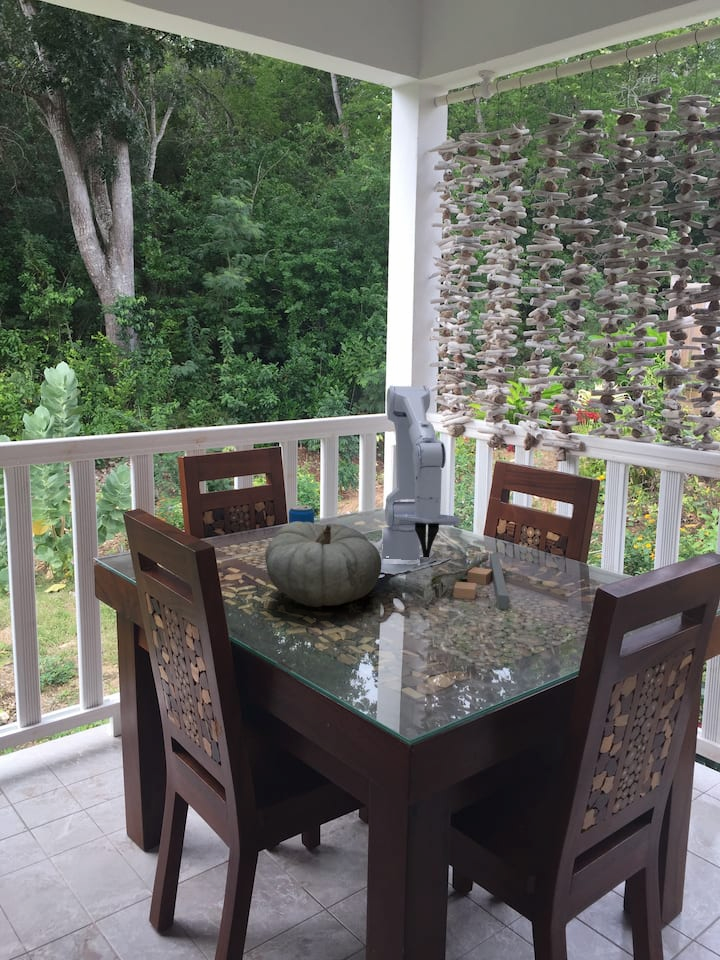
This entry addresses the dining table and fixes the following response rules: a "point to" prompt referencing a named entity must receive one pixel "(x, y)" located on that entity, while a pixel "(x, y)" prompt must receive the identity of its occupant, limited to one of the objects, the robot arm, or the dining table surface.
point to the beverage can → (301, 513)
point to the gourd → (322, 563)
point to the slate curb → (498, 582)
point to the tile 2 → (479, 575)
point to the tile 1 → (465, 590)
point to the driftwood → (450, 579)
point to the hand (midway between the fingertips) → (426, 556)
